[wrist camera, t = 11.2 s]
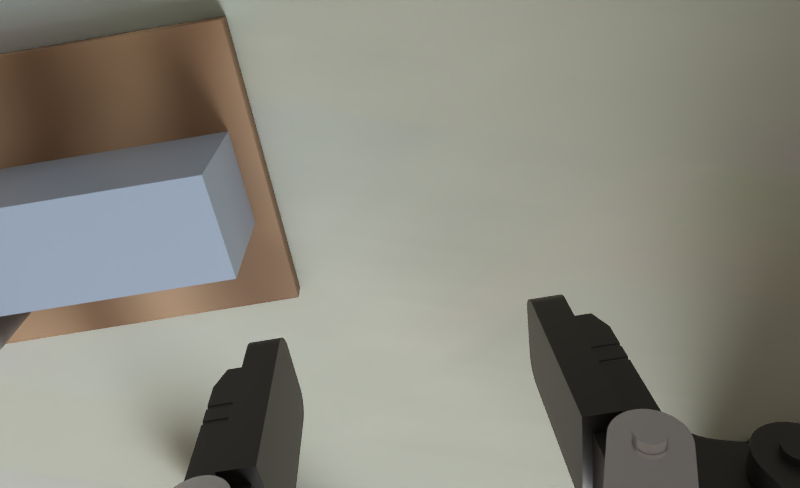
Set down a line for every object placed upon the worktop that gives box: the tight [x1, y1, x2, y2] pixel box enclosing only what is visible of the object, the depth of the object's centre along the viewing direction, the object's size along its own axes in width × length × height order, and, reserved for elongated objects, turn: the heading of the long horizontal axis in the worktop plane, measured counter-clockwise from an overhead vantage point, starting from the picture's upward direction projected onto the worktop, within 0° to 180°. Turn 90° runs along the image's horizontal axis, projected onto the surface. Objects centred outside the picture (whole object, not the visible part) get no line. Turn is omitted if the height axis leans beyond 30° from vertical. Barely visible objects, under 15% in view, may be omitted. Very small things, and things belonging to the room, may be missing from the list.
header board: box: [0, 16, 300, 350], centre depth 22 cm, size 16×12×8 cm
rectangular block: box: [0, 131, 255, 317], centre depth 23 cm, size 4×9×4 cm, turn 99°
